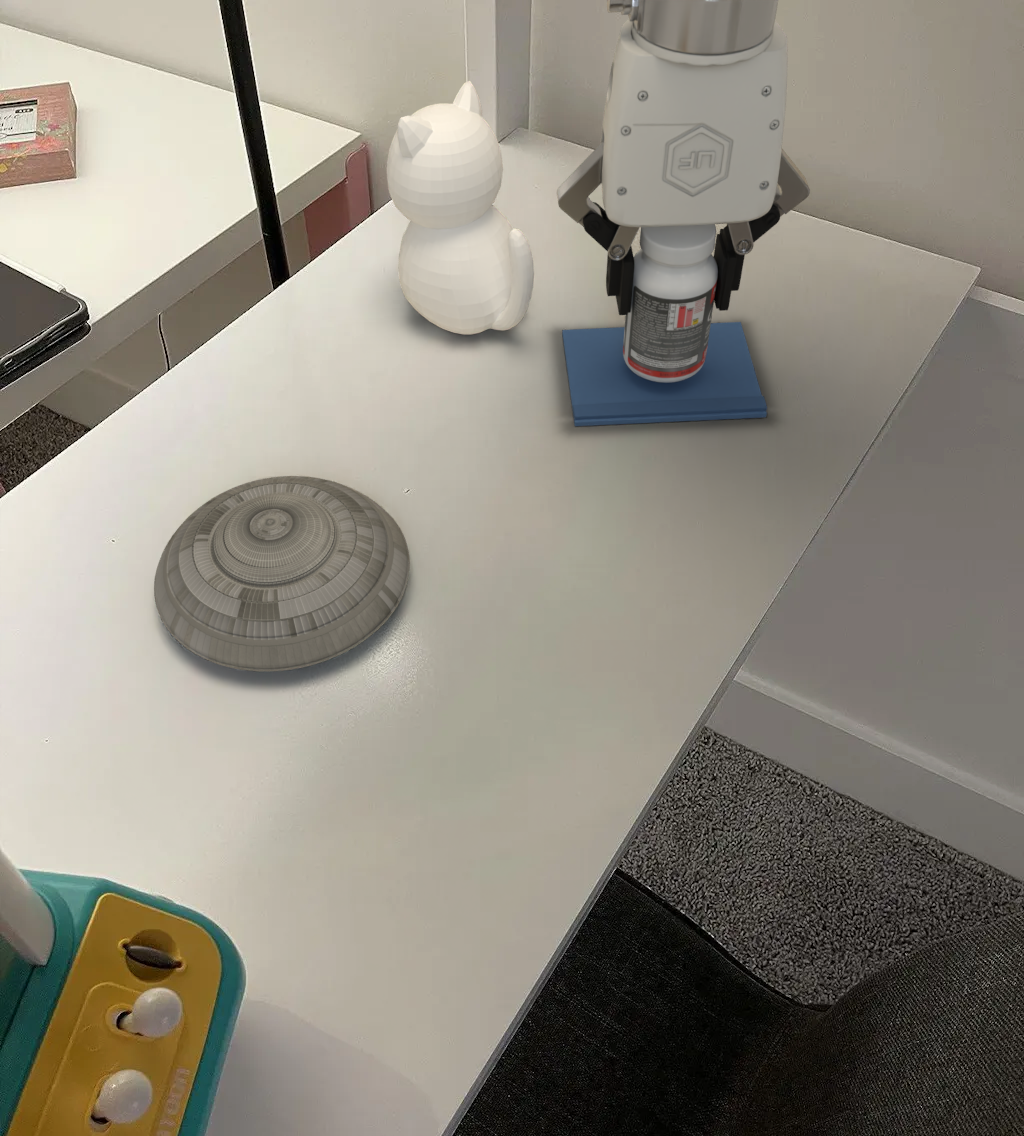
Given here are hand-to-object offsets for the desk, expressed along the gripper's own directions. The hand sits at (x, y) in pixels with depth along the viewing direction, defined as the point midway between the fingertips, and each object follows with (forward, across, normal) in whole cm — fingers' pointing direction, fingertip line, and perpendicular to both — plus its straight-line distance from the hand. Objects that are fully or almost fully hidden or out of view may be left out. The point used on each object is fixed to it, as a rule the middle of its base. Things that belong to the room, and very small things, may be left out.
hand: (670, 297), depth 74 cm
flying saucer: (+6, -25, -18) cm, 31 cm away
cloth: (+6, 0, 0) cm, 6 cm away
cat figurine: (+6, -13, +8) cm, 17 cm away
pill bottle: (+5, 0, 0) cm, 5 cm away
